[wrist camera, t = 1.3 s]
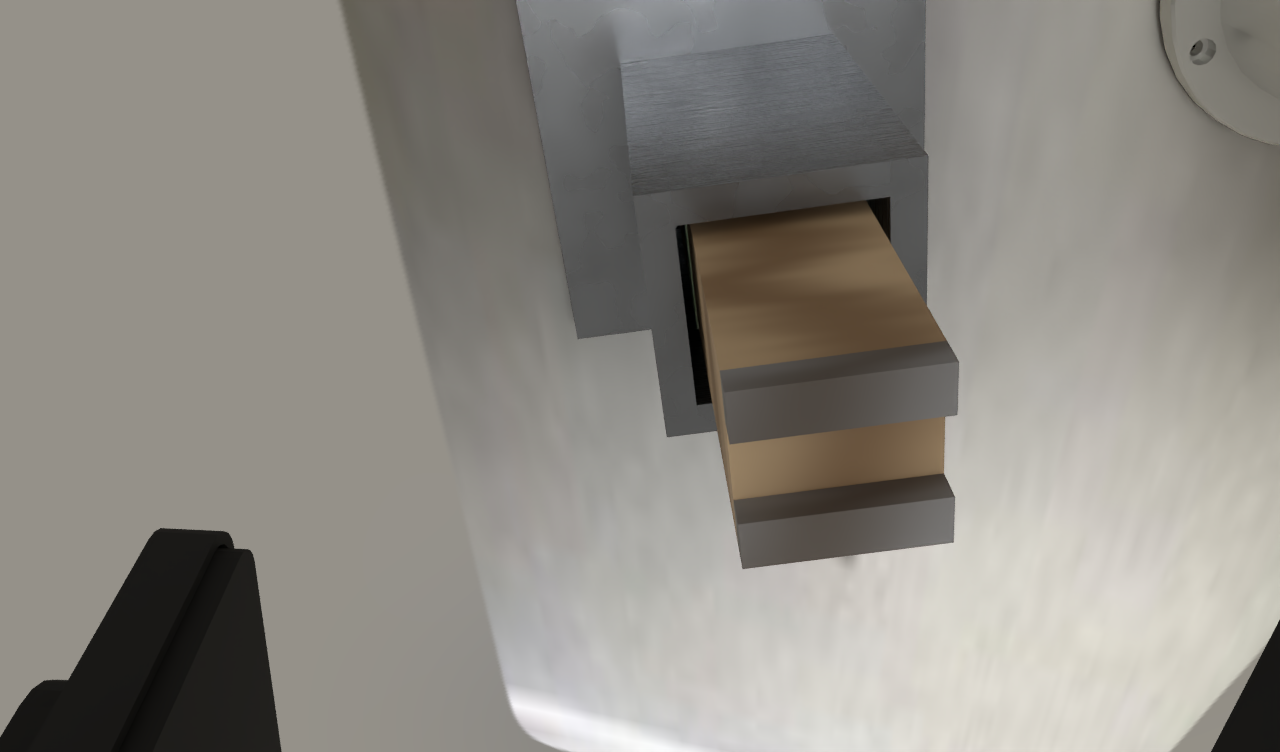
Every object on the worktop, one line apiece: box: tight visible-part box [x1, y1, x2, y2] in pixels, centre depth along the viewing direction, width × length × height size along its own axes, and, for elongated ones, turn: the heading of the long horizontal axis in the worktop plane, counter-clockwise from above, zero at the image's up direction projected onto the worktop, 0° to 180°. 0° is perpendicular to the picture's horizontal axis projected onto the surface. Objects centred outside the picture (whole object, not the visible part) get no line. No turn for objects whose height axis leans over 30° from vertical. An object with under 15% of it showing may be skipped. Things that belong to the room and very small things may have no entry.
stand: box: [516, 0, 928, 437], centre depth 33 cm, size 13×13×13 cm
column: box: [680, 200, 959, 569], centre depth 29 cm, size 4×4×18 cm
